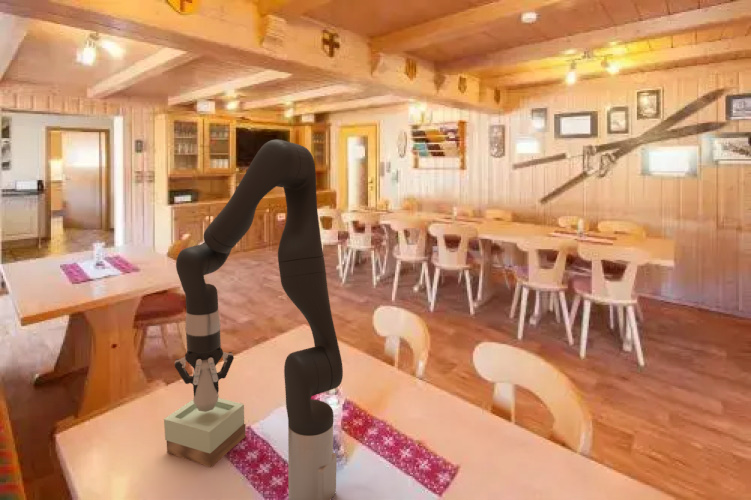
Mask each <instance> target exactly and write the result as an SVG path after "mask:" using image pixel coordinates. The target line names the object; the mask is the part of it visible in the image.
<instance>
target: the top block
mask: <svg viewBox="0 0 751 500" xmlns="http://www.w3.org/2000/svg"><path fill="white" fill-rule="evenodd" d="M243 424H245V404H244V403H241V402H236V401H233V400H230V399H225V398H221V397H218V401H217V403H216V405H215V407H214V409H213V410H210V411H207V412H204V411H199V410H198V408H197V407H196V405H195V404H194V402H193V399H191V400H190V401H189V402H187V403H186V404H185V405H182V406H181V407H180V408H179V409H177V410H175V411H174V412H172V413H170V414H169V415H167V417H164V418H163V425H164V426H163V427H164V440H165V441H166V440H167V441H170V442H174V443H177V444H180V445H183V446H187V447H190V448H193V449H197V450H200V451H203V452H207V453H211V452H212V451H214V450H215V449H216V448H217V447H218V446H219V445H221V444H222V443H223V442H224V441H225V440H226V439H227V438H229V437H230V436H231V435H232V434H233V433H234V432H235V431H237V430H238V429H239V428H240V427H241V426H242V425H243Z"/></svg>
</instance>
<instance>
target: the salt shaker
mask: <svg viewBox="0 0 751 500" xmlns="http://www.w3.org/2000/svg"><path fill="white" fill-rule="evenodd" d="M199 367H200V369H201V371H200V376H199V382H198V384H197V385H198V386H197V387H196V393H195V396H194V395H193V398H192V400H193V402H194V404H195V405H196V407H197V408H198V410H199V411H204V412H207V411H210V410H213V409H214V407H215V405H216V403H217V401H218V398H220V397H219V392H218V393H217V391H216V390H215V387H214V384H213V382H214V381H213V378H212V374H211V370H210V364H209V362H208V360H202V364H201V366H199Z"/></svg>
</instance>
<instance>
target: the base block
mask: <svg viewBox="0 0 751 500" xmlns="http://www.w3.org/2000/svg"><path fill="white" fill-rule="evenodd" d="M246 433H247V430H246V423H244V424H243V425H242V426H241V427H240V428H239V429H238V430H237V431H235V432H234V433H233V434H232V435H231V436H230V437H229V438H227V439H226V440H225V441H224V442H223V443H222V444H221V445H219V446H218V447H217V448H216V449H215V450H214V451H212V452H211V453H207V452H203V451H200V450H197V449H193V448H190V447H187V446H183V445H180V444H177V443H174V442H170V441H167V440H165V441H166V442H165V443H166V453H168V454H171V455H174V456H176V457H180V458H183V459H185V460H188V461H191V462H193V463H197V464H198V465H199V464H201V465H203V466H206V467H208V468H212V467H213V466H215V464H216V463H217V462H218V461H220V460H221V459H222V458H223V457H224V456H226V454H227V453H229V452H230V451H231V450H232V449H234V447H236V446H237V445H238V444H239V443H240V442H241V441H242V440H244V439H245V438H246V437H247V434H246Z"/></svg>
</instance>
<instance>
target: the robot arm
mask: <svg viewBox="0 0 751 500" xmlns="http://www.w3.org/2000/svg"><path fill="white" fill-rule="evenodd" d="M316 171H317V170H316V164H315V161H314V156H313V155H312V153H311V151H310V150H309V149H308V148H307V147H305V146H303V145H302V144H298V143H295V142H291V141H286V140H284V139H283V140H282V139H271V140H269V141H266V142H265V143H264V144H263V145H262V146H261V147H260V149H259V150H258V151H257V153H256V155H254V158H253V159H252V161H251V163H250V164H249V166H248V168H247V169H246V172H245V173H244V175H243V177H242V178H241V180H240V182H239V183H238V186H237V187H236V189H235V191H234V192H233V194H232V196H231V197H230V199H229V200H228V201H227V203H226V204H225V206H223V208H222V210H221V211H220V212H219V213H218V214H217V215H216V216H215V217H214V219H212V222H210V224H209V225H208V226H207V227H206V229H205V231H204V232H203V243H201V244H197V245H194V246H189V247H186V248H183V249H182V250H181V251H179V253H178V255H177V258H176V260H175V268H176V272H177V273H176V274H177V275H178V276H177V277H178V278H179V281H180V285H181V287H182V289H183V292H184V296H185V335H186V336H185V339H186V353H185V355H184V356H183V357H181V358H176V359H175V360H174V368H175V369H176V371H177V373H178V374H179V376H180V377H181V379H182V380H183V382H184V384H187V385H189V384H192V386H193V388H192V389H193V397H194V396H195V393H196V387H197V386H198V385H197V384H198V382H199V376H200V371H201V369H200V367H199V366H201V364H202V360H208V362H209V364H210V370H211V374H212V378H213V381H214V382H213V384H214V387H215V390H216V391H217V393H218V394H219V390H220V388H219V381H220V380H221V379H222V380H223V379H225V378H227V375H228V373H229V371H230V368H231V365H232V364H233V361H234V354H233V352H232V351H229V352H226V351H223V349H222V342H221V341H222V340H221V319H220V318H221V317H220V313H219V297H218V289H217V287H216V286H215V285H214V284H211V283H206V281H205V276H206V275H209V274H212V273H215V272H217V271H218V270H219V269H221V268H222V266H223V265H224V264H225V263H226V261H227V259H228V257H229V256H230V254H231V251H232V250H233V248H234V247H236V245H237V244H238V243H239V242H240V241H241V239H242V238H244V236H245V235H246V234H247V233H248V232H249V230H250V228H251V226H252V224H253V222H254V219H255V214H256V210H257V207H258V206H259V203H260V202H261V201H262V199H263V198H264V197H265V196H266V195H267V194H269V192H271V191H272V190H274V188H283V192H284V196H285V203H286V220H285V223H284V228H283V231H282V234H281V236H280V241H279V245H278V249H277V263H278V270H279V277H280V284H281V287H282V289H283V291H284V293H285V294H286V296H287V297H288V299H290V301H291V302H292V303H293V304H294V305H295V307H296V308H297V309H298V310H299V312H300V313H301V314H302V315H303V316H304V318H305V319H306V321H307V324H308V325H309V327H310V331H311V334H312V337H313V343H314V346H313V347H308V348H305V349H301V350H300V349H299V350H295V351H293V352H291V353H289V354H288V355H287V356H286V359H285V362H284V369H283V373H284V375H283V376H284V386H285V387H284V388H285V390H284V391H285V392H284V393H285V406H286V408H285V409H286V413H287V420H288V421H287V424H288V427H287V429H288V432H287V433H288V435H287V436H288V439H287V441H288V443H287V444H288V445H287V447H288V448H287V450H288V452H287V453H288V459H287V461H288V463H287V464H288V474H287V475H288V480H287V481H288V488H287V489H288V500H330V499H331V498H332V496H333V495H334V494H335V495H336V493H337V461H338V460H337V458H338V457H337V453H335V452H334V411H333V408H332V406H331V405H330V404H329V403H327V402H325V401H322V400H320V399H319V400H318V399H315V398H314V399H312V397H314V396H317V395H320V394H322V393H323V394H324V393H326V392H329V391H332V390H334V389H337V388H338V387H340V385H341V384H342V382H343V376H344V375H343V374H344V371H343V370H344V369H343V360H342V356H341V351H340V346H339V341H338V338H337V333H336V328H335V325H334V319H333V314H332V310H331V303H330V297H329V289H328V281H327V272H326V263H325V256H324V250H323V244H322V237H321V236H322V235H321V230H320V228H321V227H320V221H319V213H318V202H317V175H316V174H317V173H316ZM221 359H223V364H222V366H221V368H220V371H217V367H216V366H217V365H218V363H219V362H220V360H221ZM186 363H188V364H189V366H191V367H192V368H193V371H192V375H190V374H189V373H188V370H187V369H186V366H187V365H186ZM335 492H336V493H335ZM335 495H334V496H335ZM334 496H333V497H334ZM332 499H333V498H332ZM332 499H331V500H332Z"/></svg>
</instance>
